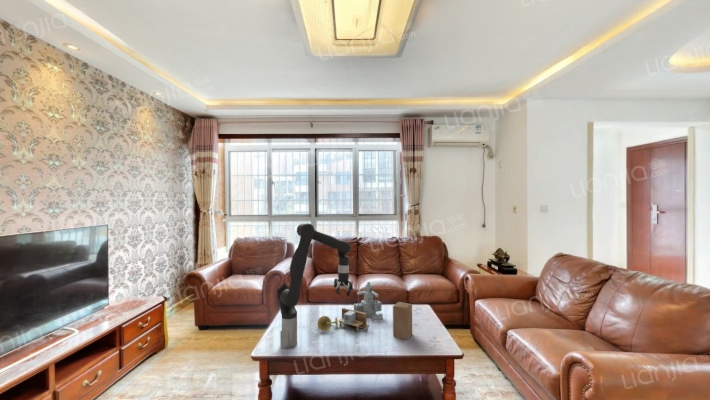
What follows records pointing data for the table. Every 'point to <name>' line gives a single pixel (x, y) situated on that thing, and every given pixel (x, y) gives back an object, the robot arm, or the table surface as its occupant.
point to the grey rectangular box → (349, 317)
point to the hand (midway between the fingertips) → (343, 295)
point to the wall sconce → (325, 323)
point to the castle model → (369, 303)
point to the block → (402, 320)
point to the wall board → (360, 319)
